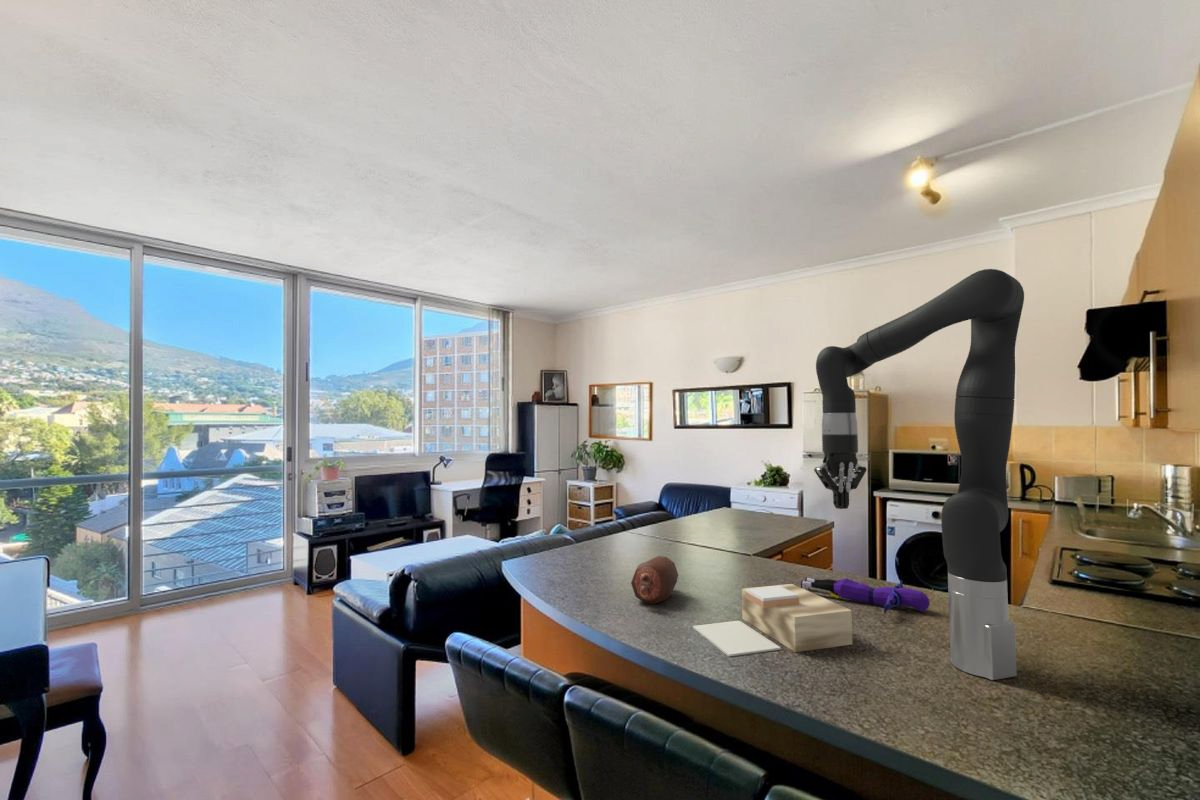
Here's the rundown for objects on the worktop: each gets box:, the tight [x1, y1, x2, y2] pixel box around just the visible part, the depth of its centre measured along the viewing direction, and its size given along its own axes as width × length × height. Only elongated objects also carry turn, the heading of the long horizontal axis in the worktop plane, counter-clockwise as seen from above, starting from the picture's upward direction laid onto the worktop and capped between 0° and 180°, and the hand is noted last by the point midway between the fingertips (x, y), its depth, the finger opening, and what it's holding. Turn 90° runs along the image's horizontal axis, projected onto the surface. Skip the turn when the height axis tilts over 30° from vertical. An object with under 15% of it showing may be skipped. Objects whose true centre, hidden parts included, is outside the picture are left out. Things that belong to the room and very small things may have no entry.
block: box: [741, 583, 853, 653], centre depth 119 cm, size 20×14×7 cm
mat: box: [692, 620, 782, 657], centre depth 115 cm, size 16×12×1 cm
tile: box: [745, 585, 799, 608], centre depth 118 cm, size 7×9×2 cm
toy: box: [800, 576, 931, 614], centre depth 139 cm, size 27×6×30 cm
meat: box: [630, 555, 679, 605], centre depth 142 cm, size 20×12×10 cm, turn 156°
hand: (841, 508), depth 122 cm, fingers closed
